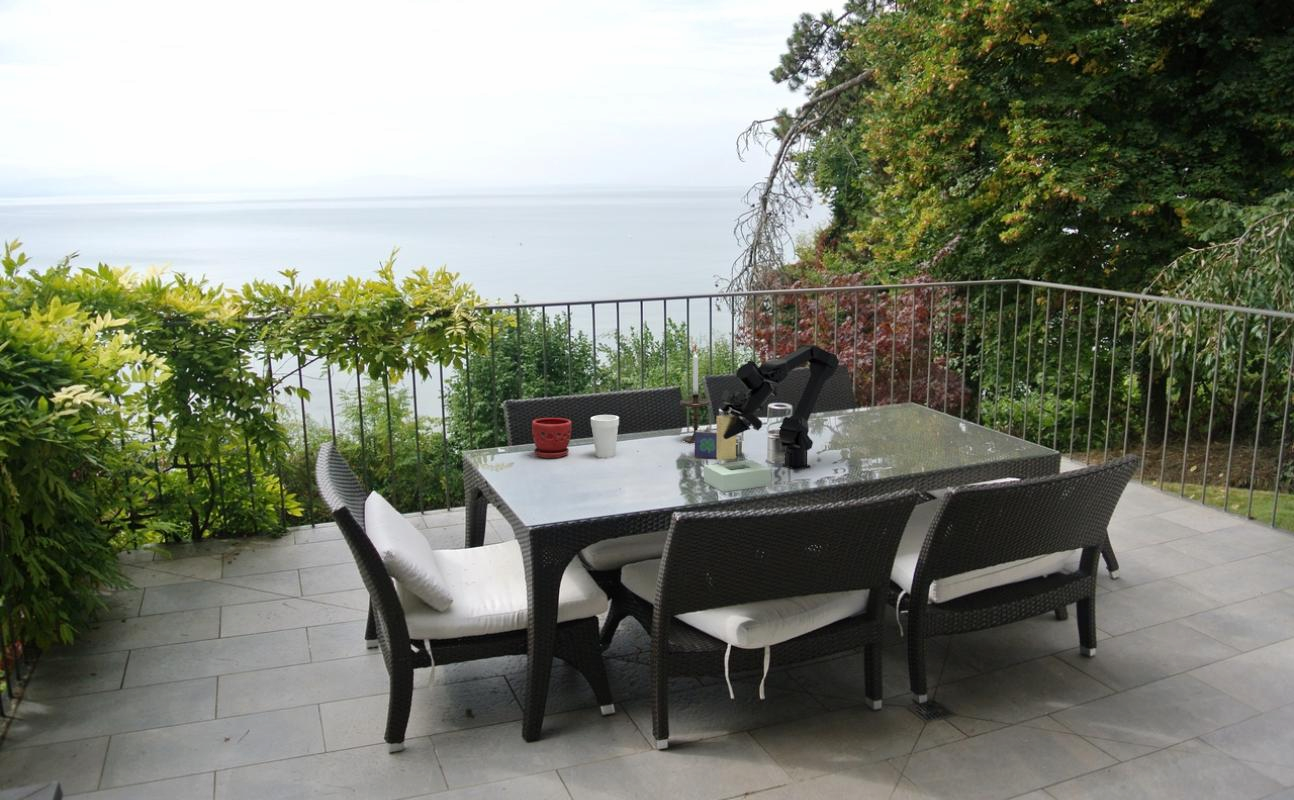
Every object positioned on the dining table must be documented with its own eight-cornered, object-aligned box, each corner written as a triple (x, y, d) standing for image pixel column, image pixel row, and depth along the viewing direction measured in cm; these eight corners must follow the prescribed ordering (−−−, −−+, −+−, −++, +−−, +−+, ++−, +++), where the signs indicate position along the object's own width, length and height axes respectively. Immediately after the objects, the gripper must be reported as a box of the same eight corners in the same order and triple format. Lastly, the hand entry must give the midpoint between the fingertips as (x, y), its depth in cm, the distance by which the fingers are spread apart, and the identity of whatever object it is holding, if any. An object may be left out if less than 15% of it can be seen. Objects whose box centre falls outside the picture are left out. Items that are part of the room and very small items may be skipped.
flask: (722, 457, 315) (722, 425, 313) (721, 459, 312) (721, 427, 310) (695, 456, 317) (694, 424, 315) (693, 458, 314) (693, 426, 312)
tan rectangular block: (731, 456, 288) (731, 414, 285) (735, 458, 285) (736, 416, 283) (716, 458, 286) (716, 415, 284) (720, 460, 284) (720, 417, 281)
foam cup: (588, 458, 315) (587, 420, 313) (596, 451, 324) (595, 414, 322) (615, 459, 313) (614, 421, 311) (622, 453, 322) (622, 415, 320)
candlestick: (709, 444, 332) (709, 345, 326) (678, 443, 334) (678, 345, 327) (712, 437, 343) (712, 341, 336) (682, 437, 344) (681, 341, 338)
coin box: (750, 475, 292) (751, 459, 291) (770, 485, 281) (771, 468, 280) (704, 481, 286) (704, 465, 285) (722, 491, 275) (722, 475, 274)
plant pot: (562, 461, 312) (561, 425, 310) (526, 458, 317) (525, 423, 314) (578, 452, 324) (577, 417, 322) (543, 449, 329) (542, 415, 326)
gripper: (724, 376, 291) (691, 414, 289) (752, 385, 274) (718, 426, 272) (747, 399, 295) (715, 437, 294) (776, 409, 278) (742, 450, 276)
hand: (722, 437), depth 284 cm, fingers closed on tan rectangular block, 3 cm apart
